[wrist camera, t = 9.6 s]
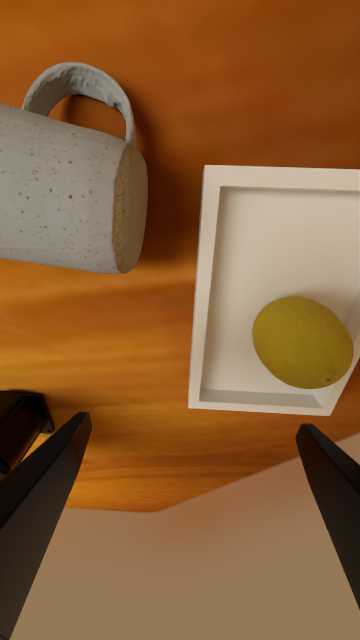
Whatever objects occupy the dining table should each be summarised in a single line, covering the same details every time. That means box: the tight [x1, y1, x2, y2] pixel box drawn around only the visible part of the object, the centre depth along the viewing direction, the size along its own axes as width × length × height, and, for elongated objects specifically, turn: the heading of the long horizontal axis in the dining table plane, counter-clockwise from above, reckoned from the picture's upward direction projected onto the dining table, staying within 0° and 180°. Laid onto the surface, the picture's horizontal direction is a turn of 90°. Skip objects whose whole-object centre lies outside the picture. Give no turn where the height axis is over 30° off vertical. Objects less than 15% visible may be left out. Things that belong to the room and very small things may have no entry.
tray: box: [188, 165, 360, 416], centre depth 18 cm, size 20×14×2 cm
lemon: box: [252, 296, 354, 389], centre depth 15 cm, size 6×6×8 cm
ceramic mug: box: [0, 62, 148, 274], centre depth 12 cm, size 11×8×8 cm
